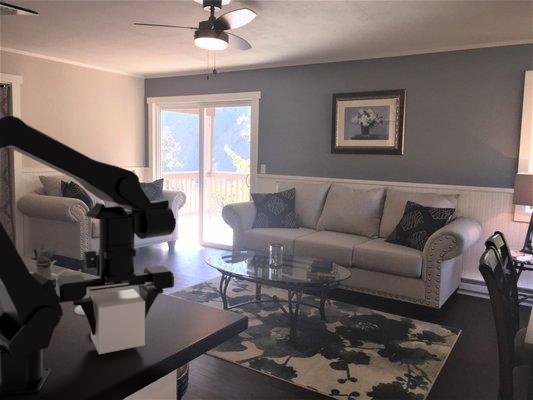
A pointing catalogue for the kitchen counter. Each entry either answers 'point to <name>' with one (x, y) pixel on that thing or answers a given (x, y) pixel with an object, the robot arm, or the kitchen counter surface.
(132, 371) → the kitchen counter surface
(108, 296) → the cream cube
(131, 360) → the kitchen counter surface
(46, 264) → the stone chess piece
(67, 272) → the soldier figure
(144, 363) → the kitchen counter surface
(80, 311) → the white round disc
